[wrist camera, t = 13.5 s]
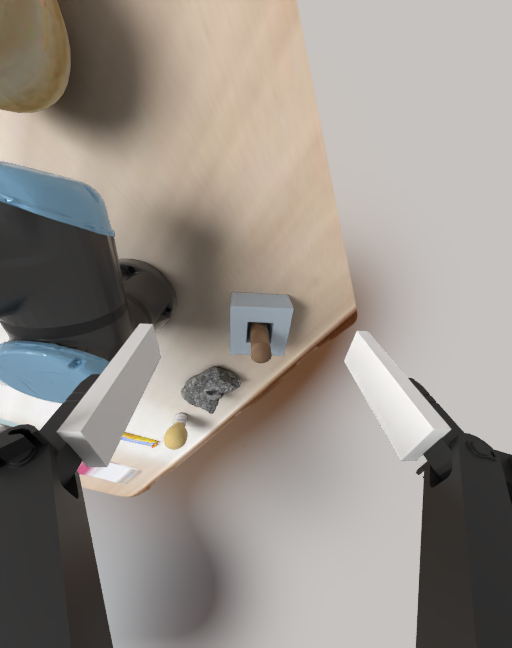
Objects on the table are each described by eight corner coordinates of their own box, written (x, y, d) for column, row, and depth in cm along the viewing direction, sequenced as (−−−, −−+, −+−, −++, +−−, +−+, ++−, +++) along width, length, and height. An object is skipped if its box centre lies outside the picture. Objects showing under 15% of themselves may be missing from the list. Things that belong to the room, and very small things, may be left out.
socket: (280, 338, 50) (284, 355, 45) (231, 337, 49) (229, 354, 44) (288, 294, 43) (293, 308, 39) (231, 291, 42) (230, 305, 38)
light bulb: (195, 418, 67) (188, 450, 59) (178, 422, 68) (169, 455, 60) (185, 407, 64) (176, 440, 55) (167, 412, 65) (156, 445, 56)
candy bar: (160, 439, 74) (158, 444, 73) (156, 444, 76) (154, 449, 75) (111, 426, 68) (108, 431, 67) (108, 431, 70) (105, 437, 69)
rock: (178, 386, 57) (186, 423, 52) (193, 362, 50) (204, 402, 44) (218, 379, 65) (229, 410, 60) (236, 358, 58) (250, 391, 53)
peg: (254, 328, 47) (257, 365, 37) (246, 316, 45) (247, 352, 35) (268, 322, 46) (275, 358, 36) (261, 309, 44) (266, 344, 34)
